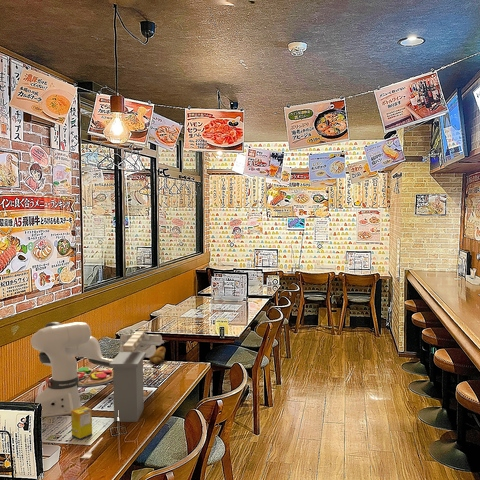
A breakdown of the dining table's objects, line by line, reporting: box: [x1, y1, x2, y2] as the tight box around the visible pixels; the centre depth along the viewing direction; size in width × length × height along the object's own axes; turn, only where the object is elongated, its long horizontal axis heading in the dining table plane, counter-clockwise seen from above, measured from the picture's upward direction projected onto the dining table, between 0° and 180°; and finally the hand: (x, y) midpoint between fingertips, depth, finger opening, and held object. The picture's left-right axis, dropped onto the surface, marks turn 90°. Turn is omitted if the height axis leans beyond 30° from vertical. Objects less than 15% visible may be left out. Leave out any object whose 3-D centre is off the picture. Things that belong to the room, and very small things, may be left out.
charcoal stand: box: [108, 352, 146, 423], centre depth 228 cm, size 18×12×26 cm, turn 179°
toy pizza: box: [77, 366, 113, 388], centre depth 279 cm, size 28×28×4 cm
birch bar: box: [123, 330, 145, 352], centre depth 236 cm, size 26×4×3 cm, turn 179°
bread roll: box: [148, 346, 166, 364], centre depth 311 cm, size 13×10×8 cm
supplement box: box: [70, 405, 93, 441], centre depth 207 cm, size 6×6×11 cm
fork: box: [78, 437, 104, 460], centre depth 196 cm, size 3×20×2 cm, turn 174°
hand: (138, 335), depth 246 cm, fingers closed on birch bar, 4 cm apart
